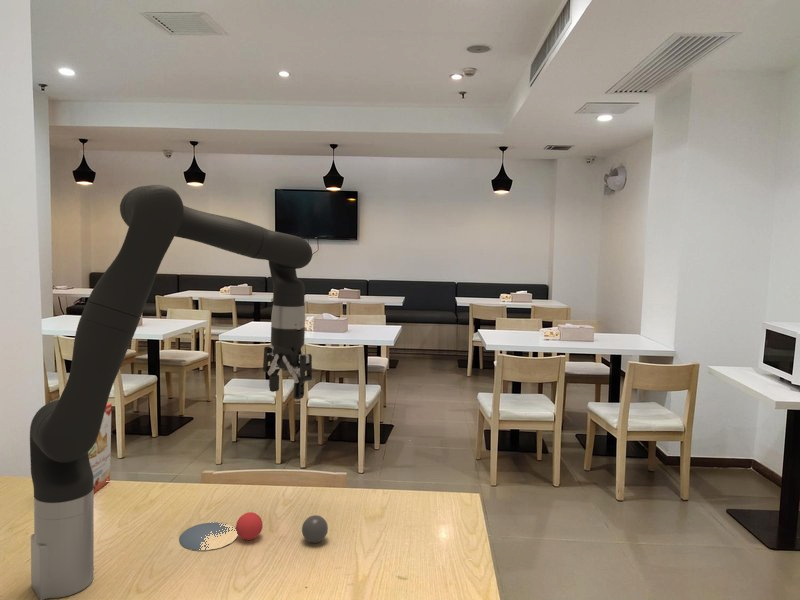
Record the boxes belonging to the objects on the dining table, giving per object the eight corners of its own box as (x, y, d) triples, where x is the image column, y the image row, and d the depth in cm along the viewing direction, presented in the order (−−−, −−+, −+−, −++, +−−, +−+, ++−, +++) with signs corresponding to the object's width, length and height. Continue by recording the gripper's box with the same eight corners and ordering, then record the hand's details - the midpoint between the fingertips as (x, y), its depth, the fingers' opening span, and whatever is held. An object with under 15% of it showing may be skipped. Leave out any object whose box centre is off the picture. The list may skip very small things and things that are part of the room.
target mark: (195, 557, 116) (195, 556, 116) (169, 534, 124) (169, 533, 124) (248, 538, 125) (248, 537, 125) (221, 518, 133) (221, 517, 133)
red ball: (244, 547, 121) (244, 522, 120) (230, 537, 125) (231, 512, 124) (267, 539, 125) (267, 514, 124) (253, 529, 128) (254, 505, 128)
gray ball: (311, 550, 121) (312, 525, 120) (296, 540, 125) (297, 515, 124) (332, 542, 125) (333, 517, 124) (317, 532, 129) (317, 508, 128)
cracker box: (81, 506, 136) (81, 418, 134) (55, 504, 136) (55, 416, 134) (112, 481, 150) (112, 402, 148) (89, 480, 150) (89, 400, 148)
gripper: (255, 322, 134) (253, 391, 136) (296, 330, 125) (294, 404, 127) (280, 320, 140) (279, 386, 141) (321, 327, 131) (319, 398, 133)
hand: (286, 394), depth 134 cm, fingers open, 8 cm apart
